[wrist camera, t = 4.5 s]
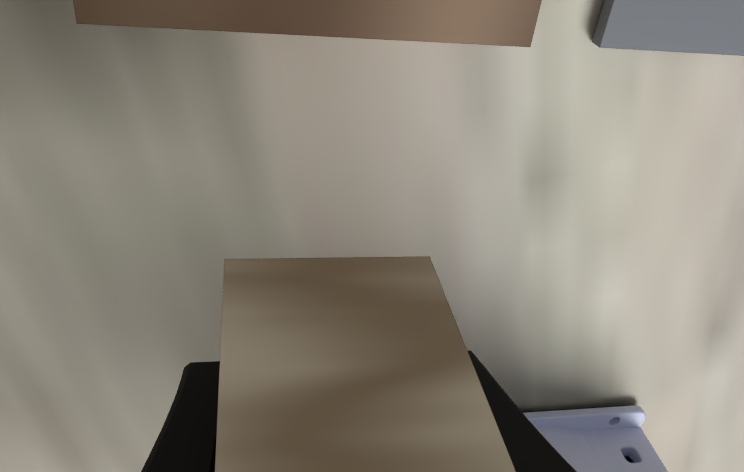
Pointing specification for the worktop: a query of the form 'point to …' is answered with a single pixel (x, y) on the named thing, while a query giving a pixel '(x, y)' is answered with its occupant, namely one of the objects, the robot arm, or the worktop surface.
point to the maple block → (347, 371)
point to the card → (672, 26)
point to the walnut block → (331, 18)
